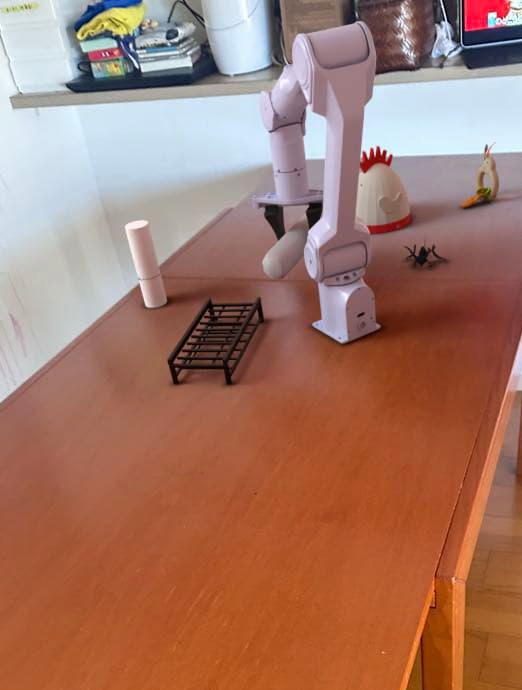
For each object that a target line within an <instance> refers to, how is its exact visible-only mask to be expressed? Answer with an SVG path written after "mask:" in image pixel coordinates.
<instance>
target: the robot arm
mask: <svg viewBox="0 0 522 690" xmlns="http://www.w3.org/2000/svg"><path fill="white" fill-rule="evenodd" d="M291 59H292V63H291V64H287V65H285V66H284V67H283V69H282V70H283V71H282V72H281V74H280V76H279V78H278V80H277V81H276V82H275V85H274V86H273V88H272V89H270V90H267V89H265V90H261V92H260V94H259V111H260V117H261V121H262V123H263V126H264V128H265V129H266V131H267V133H268V140H269V148H270V155H271V164H272V170H273V177H274V186H275V191H273V192H266V193H259V194H257V193H256V194H254V195H253V196H252V198H251V200H252V207H253V210H260V209H263V208H264V212H263V217H264V219H265V220H266V221H267V223H268V224H269V226H270V227H271V230H272V231H273V232H274V235H275V237H276V239H277V242H278V241H279V240H280V239H281V238H282V237H283V236H284V235H285V234H286V233H287V232H286V227H285V217H284V215H285V214H284V207H303V206H308V207H307V208H306V210H305V213H306V216H307V220H308V225H309V231H308V237H307V243H306V246H305V248H304V256H303V259H304V264H305V267H306V270H307V273H308V276H309V277H310V278H311V279H313V281H315V282H317V284H318V285H317V286H318V295H319V305H320V306H319V307H320V314H321V315H320V316H321V319H319V320H317V321H314V322H313V323H312V327H313V328H315V329H317V330H318V331H320V332H322V333H323V334H325V335H327V336H329V337H330V338H332V339H334V340H335V341H337V342H338V343H340V344H347V343H349V342H351V341H354V340H356V339H358V338H361V337H363V336H366V335H368V334H370V333H373V332H375V331H378V330H380V329H381V324H379V323H377V320H376V319H377V317H376V315H377V314H376V300H375V299H376V298H375V293H374V291H373V290H372V288H371V287H369V286H368V285H367V284H366V282H365V281H364V279H363V276H365V275H366V269H367V268H368V267H369V266H370V264H371V261H372V256H373V255H372V254H373V253H372V245H371V233H370V232H369V230H368V228H367V226H366V224H365V223H364V222H363V220H361V219H360V218H359V217H357V216H355V215H356V203H357V192H358V180H359V174H360V170H361V169H360V161H361V158H362V157H361V155H362V145H363V134H364V133H363V132H364V121H365V107H366V106H367V104H368V103H370V101H371V100H372V99H373V94H374V86H375V77H376V76H375V75H376V66H377V65H376V64H377V51H376V47H375V43H374V38H373V34H372V32H371V30H370V28H369V27H368V26H367V24H366V23H365V22H364V21H361V20H358V21H355V22H354V23H351V24H346V25H341V26H337V27H332V28H326V29H322V30H317V31H313V32H308V33H303V32H302V33H298V34H296V36H295V38H294V41H293V43H292V49H291ZM308 106H309V108H310V110H311V112H312V113H314V114H317V115H318V116H321V117H323V118H325V121H326V129H325V149H324V150H325V152H324V153H325V154H324V174H323V175H324V176H323V189H313V188H309V179H308V168H307V158H306V150H305V140H304V139H305V138H304V137H305V136H306V133H307V130H306V121H307V107H308ZM322 211H323V217H322V218H321V214H322ZM320 218H321V219H320Z"/></svg>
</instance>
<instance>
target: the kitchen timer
mask: <svg viewBox="0 0 522 690" xmlns="http://www.w3.org/2000/svg"><path fill="white" fill-rule="evenodd" d="M387 153H388V150H386V149H383V150H382V152H381V147H380V146H379V145H376V147H375V150H374V147H370V148H369V156H368V155H367V152H366V151H365V150H361V155H362V157H361V158H362V159H361V160H362V161H361V160H360V169H359V170H361V171H359V180H358V192H357V203H356V215H355V216H357V217H359V218H360V219H361V220H363V222H364V223H365V224H366V226H367V228H368V230H369V232H370V234H384V233H389V232H392V231H396V230H399V229H402V228H404V227H405V226H407V225H408V224H409V223H410V222H411V206H410V200H409V198H408V197H409V196H408V194H407V192H406V189H405V185H404V183H403V181H402V180H401V179H400V177H399V175H398V174H397V172H395V171H394V170H393V168H391V164H392V162H393V156H394V155H393V154H392V153H389V155H388V157H387Z"/></svg>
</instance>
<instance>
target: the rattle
mask: <svg viewBox="0 0 522 690" xmlns="http://www.w3.org/2000/svg"><path fill="white" fill-rule="evenodd" d="M494 144H495V143H492V145H491V146H489V144H487V143H485V146H484V149H483V162H482V165H481V166H480V167H479V168H478V169H477V171H476V175H475V189H476V191H475V195H473V196H471V197H470V198H468V199H466V200H464V202H463V203H462V204H461V208H462V209H465V208H469V207H470V206H472V205H474V204H475V203H477V201H478V200H479V199H481V200H483V201H485V202H492V201H494V200H495V199H496V198H497V197H498V192H499V188H500V180H499V179H500V178H499V174H498V172H497V163H496V160H495V159H494V157H491V156H490V151H491V149H492V148H493V146H494ZM485 175H486V176H489V180H490V186H486V187H485V184H484V177H485Z"/></svg>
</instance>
